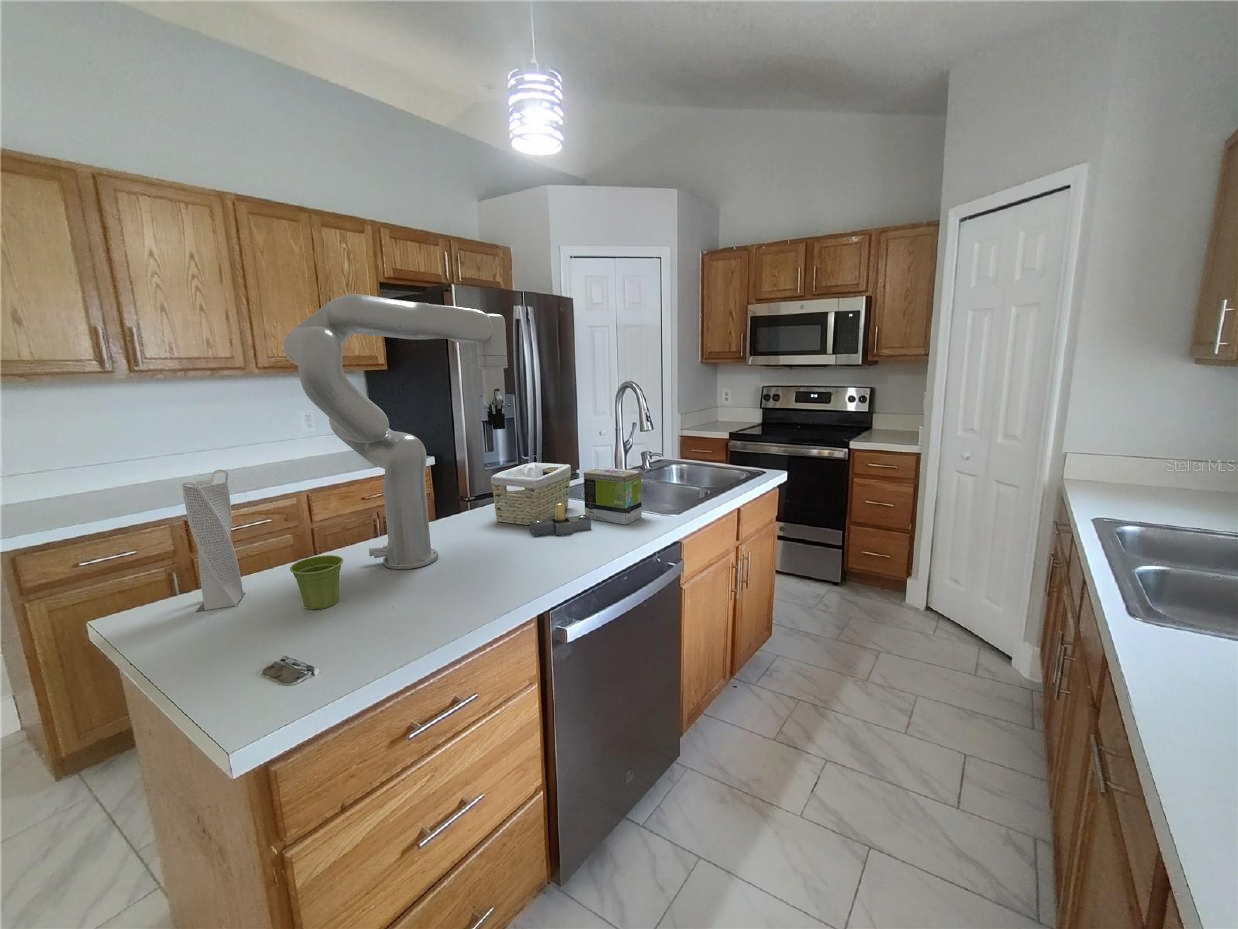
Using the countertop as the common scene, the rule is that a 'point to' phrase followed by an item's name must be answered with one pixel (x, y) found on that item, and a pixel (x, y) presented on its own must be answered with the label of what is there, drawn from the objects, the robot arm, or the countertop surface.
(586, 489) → the tea box
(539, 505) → the storage basket
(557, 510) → the brass pin
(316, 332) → the robot arm
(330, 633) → the countertop surface
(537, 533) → the grey metal bracket
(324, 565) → the plant pot
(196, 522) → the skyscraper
